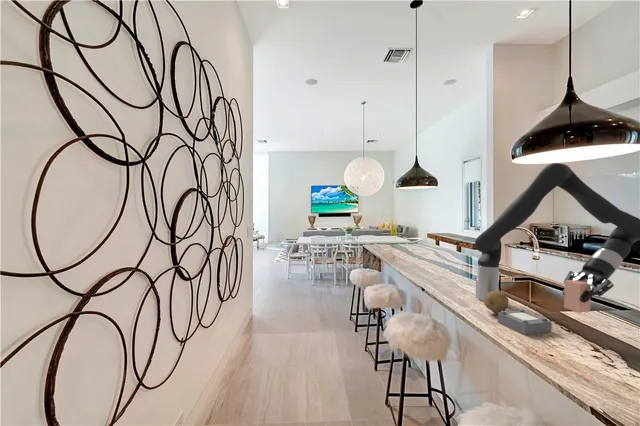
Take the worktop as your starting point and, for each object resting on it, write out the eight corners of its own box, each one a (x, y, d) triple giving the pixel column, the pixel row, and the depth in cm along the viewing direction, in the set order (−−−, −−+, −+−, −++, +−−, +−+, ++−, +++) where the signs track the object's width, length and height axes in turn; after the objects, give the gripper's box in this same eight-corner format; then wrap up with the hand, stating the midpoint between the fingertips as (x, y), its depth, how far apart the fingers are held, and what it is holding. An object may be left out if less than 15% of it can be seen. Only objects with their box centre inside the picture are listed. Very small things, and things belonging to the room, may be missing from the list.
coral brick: (564, 307, 105) (564, 280, 104) (574, 306, 106) (575, 279, 105) (579, 312, 100) (580, 284, 99) (590, 311, 101) (591, 283, 100)
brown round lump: (490, 317, 122) (490, 294, 122) (480, 309, 131) (480, 288, 130) (512, 318, 121) (512, 294, 121) (500, 310, 130) (501, 288, 130)
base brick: (497, 322, 116) (497, 310, 116) (521, 319, 119) (521, 308, 119) (525, 335, 105) (525, 322, 105) (550, 332, 108) (551, 319, 108)
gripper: (575, 253, 110) (547, 285, 109) (620, 260, 96) (588, 297, 95) (587, 266, 111) (559, 298, 110) (632, 276, 97) (601, 312, 96)
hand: (573, 298), depth 102 cm, fingers closed on coral brick, 5 cm apart
